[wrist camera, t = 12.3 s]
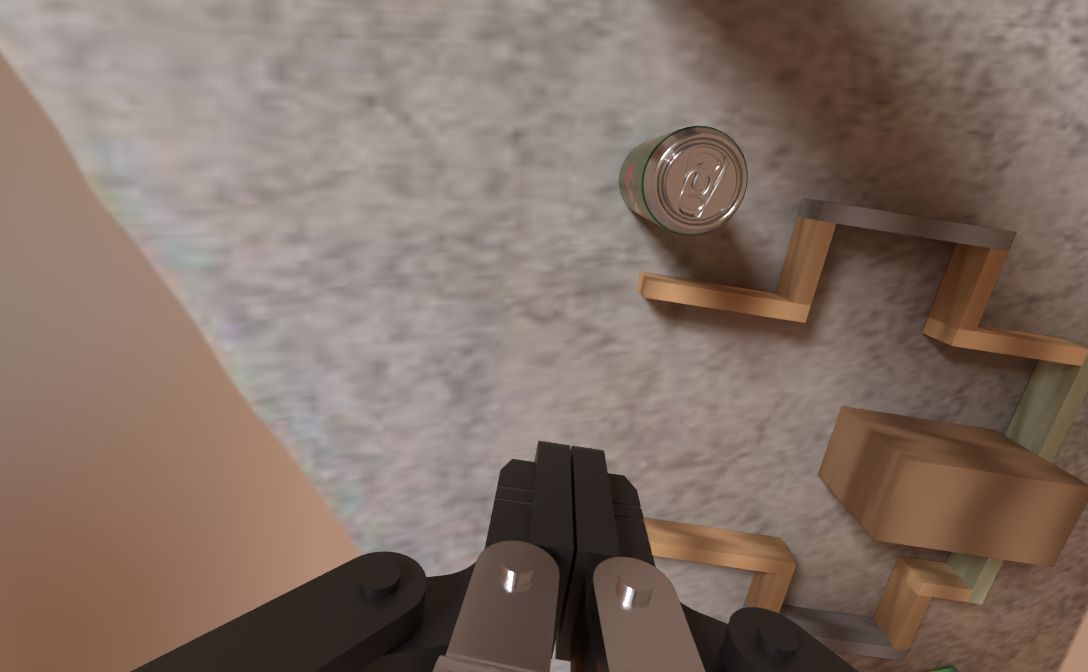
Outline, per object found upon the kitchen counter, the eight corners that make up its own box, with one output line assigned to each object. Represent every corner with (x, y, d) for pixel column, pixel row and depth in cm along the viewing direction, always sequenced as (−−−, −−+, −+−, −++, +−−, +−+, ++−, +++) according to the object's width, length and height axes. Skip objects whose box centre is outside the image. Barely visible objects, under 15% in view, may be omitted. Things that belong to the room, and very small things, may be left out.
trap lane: (574, 585, 46) (575, 613, 43) (660, 176, 36) (669, 176, 33) (925, 637, 46) (950, 668, 44) (1108, 248, 36) (1155, 254, 33)
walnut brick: (817, 473, 42) (874, 540, 35) (841, 405, 40) (906, 459, 33) (963, 496, 42) (1052, 567, 35) (993, 429, 41) (1094, 488, 33)
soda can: (704, 152, 35) (773, 142, 24) (677, 226, 37) (730, 250, 25) (631, 130, 35) (667, 109, 24) (608, 205, 36) (630, 220, 25)
